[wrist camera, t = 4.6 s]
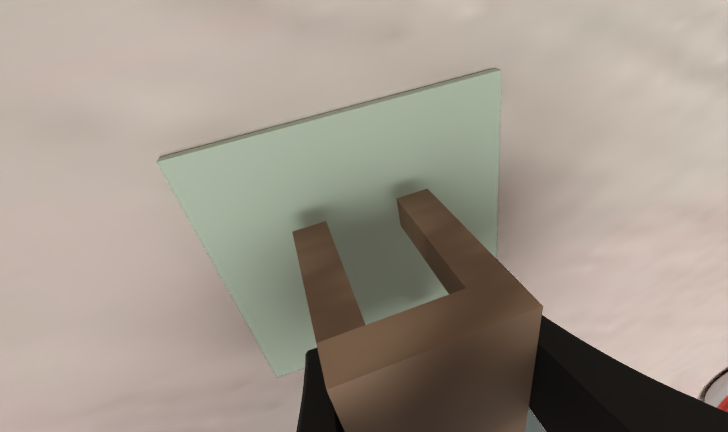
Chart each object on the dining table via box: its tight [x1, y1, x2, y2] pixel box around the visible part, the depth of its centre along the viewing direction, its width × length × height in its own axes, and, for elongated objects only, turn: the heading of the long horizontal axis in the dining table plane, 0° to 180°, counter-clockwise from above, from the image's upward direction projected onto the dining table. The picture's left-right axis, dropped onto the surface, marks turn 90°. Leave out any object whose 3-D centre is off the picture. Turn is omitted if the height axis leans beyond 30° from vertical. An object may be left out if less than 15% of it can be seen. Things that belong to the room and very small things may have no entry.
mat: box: [157, 68, 501, 377], centre depth 15 cm, size 12×12×1 cm
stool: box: [292, 188, 543, 432], centre depth 12 cm, size 5×7×6 cm
